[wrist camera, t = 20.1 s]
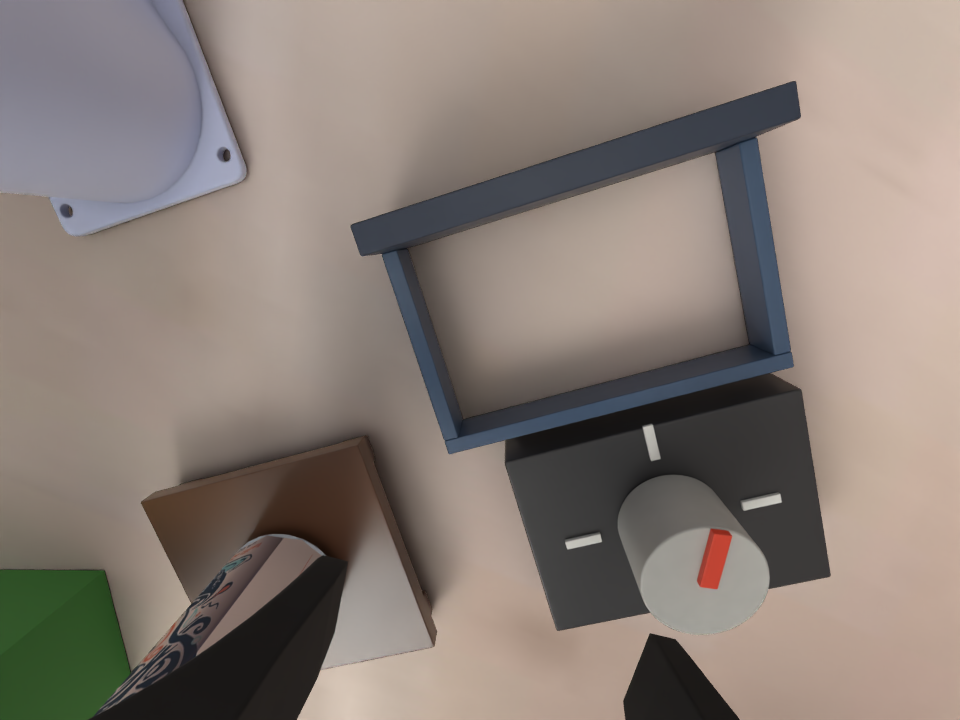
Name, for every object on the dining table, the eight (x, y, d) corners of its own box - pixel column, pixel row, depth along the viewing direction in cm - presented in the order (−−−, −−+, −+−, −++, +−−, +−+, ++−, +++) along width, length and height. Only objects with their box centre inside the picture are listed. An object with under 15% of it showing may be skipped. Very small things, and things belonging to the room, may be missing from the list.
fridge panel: (552, 592, 23) (557, 637, 20) (504, 434, 21) (503, 462, 19) (796, 541, 21) (834, 582, 19) (766, 367, 20) (804, 387, 17)
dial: (710, 572, 19) (757, 651, 16) (608, 558, 19) (631, 633, 16) (734, 481, 18) (791, 542, 15) (627, 467, 18) (657, 524, 15)
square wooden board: (171, 479, 23) (139, 502, 21) (371, 426, 21) (357, 444, 19) (254, 652, 25) (233, 688, 23) (440, 613, 24) (434, 647, 22)
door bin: (385, 227, 19) (349, 224, 15) (726, 118, 18) (797, 79, 13) (454, 435, 21) (439, 485, 17) (766, 354, 20) (839, 387, 15)
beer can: (255, 509, 20) (-82, 865, 9) (360, 553, 21) (165, 959, 9) (223, 596, 22) (-111, 1011, 10) (323, 637, 22) (109, 1092, 10)
